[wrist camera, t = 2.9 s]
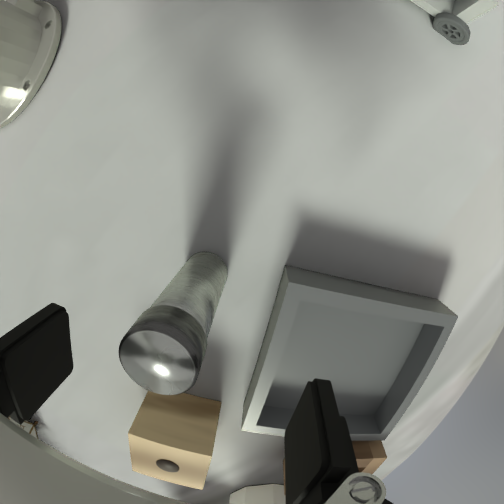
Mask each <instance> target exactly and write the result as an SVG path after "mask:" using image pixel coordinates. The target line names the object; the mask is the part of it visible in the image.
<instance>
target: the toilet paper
mask: <svg viewBox="0 0 504 504" xmlns="http://www.w3.org/2000/svg"><path fill="white" fill-rule="evenodd" d="M229 504H286V497H285V495H284V485H278V484H268V485H259V486H248V487H244V488H242V489H240V490H238V491H236V492H234V493H232V494H230V501H229Z"/></svg>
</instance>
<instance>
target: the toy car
mask: <svg viewBox="0 0 504 504" xmlns="http://www.w3.org/2000/svg"><path fill="white" fill-rule="evenodd" d="M410 1H411V2H413V3H415V4H416V5H418V6H419V7H421V8H422V9H424V10H425V11H426V12H428V13H429V14H431V15H432V16H434V21H433V28H434V29H435V30H436V31H437V32H438V33H440V34H441V35H443V36H444V37H445V38H447V39H448V40H449V41H450V42H451V43H453V44H456V45H464V44H466V43H467V42H468V41H469V38H470V30H469V27H468V26H467V24H468V23H470V22H472V21H473V20H475V19H477V18H478V17H480V16H482V15H483V14H485V13H487V12H489V11H490V10H492V9H494V8H496V7H497V6H498V0H410Z"/></svg>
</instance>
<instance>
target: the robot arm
mask: <svg viewBox="0 0 504 504" xmlns="http://www.w3.org/2000/svg"><path fill="white" fill-rule="evenodd" d="M60 35H61V17H60V13H59V11H58V10H57V8H56V7H54V6H53V5H51V4H50V3H48V2H45V1H36V0H6V1H5V0H0V128H2V127H4V126H6V125H8V124H9V123H11V122H12V121H13V120H14V119H15V118H16V117H18V116H19V115H20V113H21V112H22V111H23V110H24V109H25V108H26V107H27V105H28V104H29V103H30V101H31V100H32V98H33V97H34V96H35V94H36V93H37V91H38V89H39V88H40V86H41V84H42V83H43V81H44V79H45V77H46V75H47V73H48V71H49V69H50V67H51V64H52V62H53V59H54V57H55V55H56V51H57V48H58V45H59V41H60ZM72 370H73V359H72V350H71V341H70V329H69V316H68V313H67V312H66V309H65V308H64V307H62V306H60V305H57V304H55V303H51V304H49V305H48V306H46V307H45V308H43V309H42V310H40V311H39V312H37V313H36V314H34V315H33V316H31V317H30V318H28V319H27V320H25V321H24V322H22V323H21V324H19V325H18V326H16V327H15V328H14V329H12V330H11V331H9V332H8V333H6V334H5V335H4V336H2V337H1V338H0V504H190V503H186V502H182V501H178V500H175V499H171V498H168V497H164V496H161V495H158V494H155V493H152V492H149V491H146V490H143V489H140V488H137V487H135V486H132V485H129V484H127V483H124V482H122V481H119V480H117V479H114V478H112V477H110V476H107V475H105V474H103V473H100V472H98V471H96V470H94V469H92V468H90V467H88V466H86V465H84V464H82V463H80V462H78V461H76V460H74V459H72V458H70V457H68V456H66V455H64V454H63V453H61V452H59V451H57V450H56V449H54V448H52V447H50V446H49V445H47V444H45V443H44V442H42V441H40V440H39V439H37V438H36V437H34V436H32V435H31V434H29V433H28V432H26V431H25V430H23V429H22V428H21V427H19V426H18V425H16V424H15V423H13V422H12V421H11V420H9V419H8V417H9V416H10V417H11V419H13V420H14V421H15V422H17V423H18V424H20V425H21V424H22V423H23V422H24V421H28V420H29V419H30V418H31V417H32V416H33V415H34V413H35V412H36V411H37V410H38V409H39V408H40V407H41V405H42V404H43V403H44V402H45V401H46V400H47V399H48V398H49V397H50V395H51V394H52V393H53V392H54V391H55V390H56V389H57V388H58V387H59V386H60V384H61V383H62V382H63V381H64V380H65V379H66V378H67V377H68V376H69V375H70V374H71V372H72ZM284 440H285V497H286V504H393V503H391V502H390V501H388V500H386V499H385V496H386V488H385V486H384V483H383V482H382V481H381V480H380V479H379V478H378V477H376V476H375V475H372V474H370V473H364V472H360V473H359V470H358V465H357V461H356V457H355V453H354V449H353V445H352V441H351V437H350V433H349V429H348V425H347V422H346V419H345V417H344V416H340V415H339V411H338V407H337V403H336V399H335V396H334V392H333V388H332V384H331V381H330V380H324V379H318V378H315V379H314V380H313V381H312V382H311V381H308V382H307V384H306V387H305V389H304V391H303V393H302V396H301V398H300V400H299V402H298V405H297V407H296V409H295V411H294V413H293V415H292V417H291V419H290V422H289V424H288V426H287V428H286V431H285V436H284Z"/></svg>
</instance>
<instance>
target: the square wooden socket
mask: <svg viewBox="0 0 504 504" xmlns="http://www.w3.org/2000/svg"><path fill="white" fill-rule="evenodd" d="M352 445H353V449H354V453H355V457H356V461H357V465H358V470H359V473H360V472H364V473H370V474H373V473H374V472H375V471H376V469H377V468H378V467H379V466H380V465H381V464H382V463H383V462H384V461H385V459H386V458H387V456H386V453H385V450H384V447H383V445H382V442H381V440H375V441H352ZM283 474H284V495H285V458H284V460H283Z"/></svg>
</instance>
